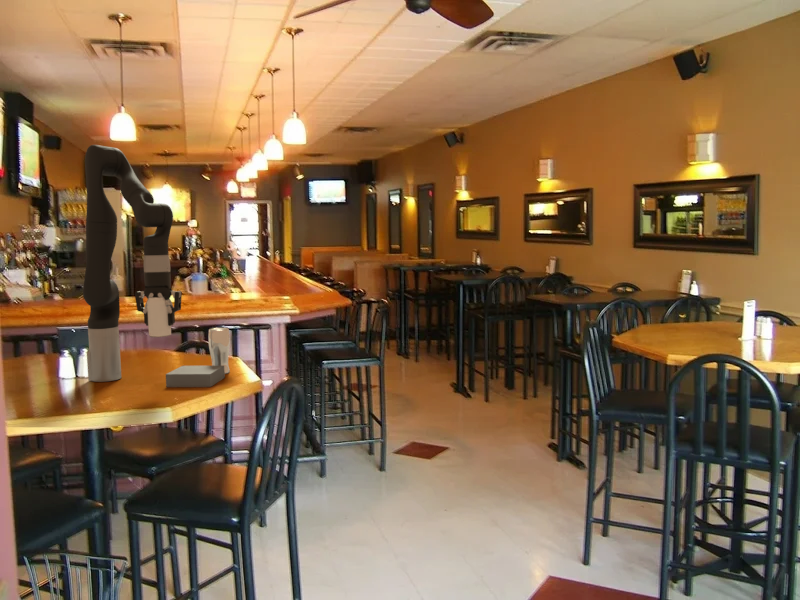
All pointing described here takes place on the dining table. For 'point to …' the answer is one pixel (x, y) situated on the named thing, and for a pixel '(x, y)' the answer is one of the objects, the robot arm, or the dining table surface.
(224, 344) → the beer glass
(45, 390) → the dining table surface
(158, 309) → the can
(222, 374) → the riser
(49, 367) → the dining table surface
